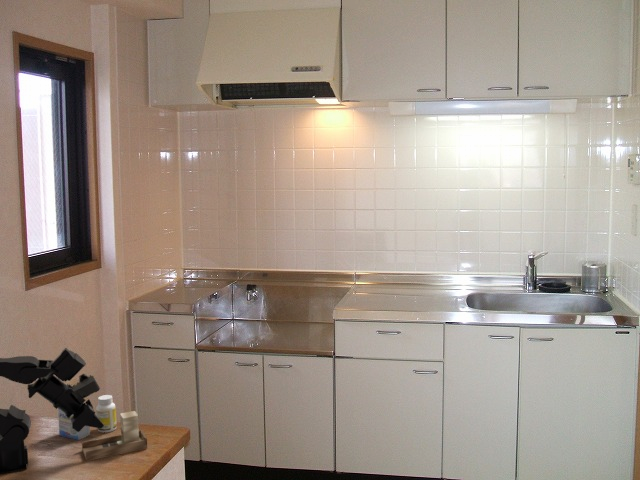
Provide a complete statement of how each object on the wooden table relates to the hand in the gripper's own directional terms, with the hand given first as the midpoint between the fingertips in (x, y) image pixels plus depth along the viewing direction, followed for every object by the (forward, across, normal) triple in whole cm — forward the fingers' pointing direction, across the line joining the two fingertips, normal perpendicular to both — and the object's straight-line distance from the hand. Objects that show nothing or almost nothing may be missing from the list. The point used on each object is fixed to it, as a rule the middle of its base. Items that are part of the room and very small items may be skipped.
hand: (102, 426), depth 184 cm
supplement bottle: (+8, +15, +3) cm, 17 cm away
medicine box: (+2, +15, +9) cm, 18 cm away
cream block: (+9, 0, -1) cm, 9 cm away
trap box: (+7, 0, +3) cm, 8 cm away
